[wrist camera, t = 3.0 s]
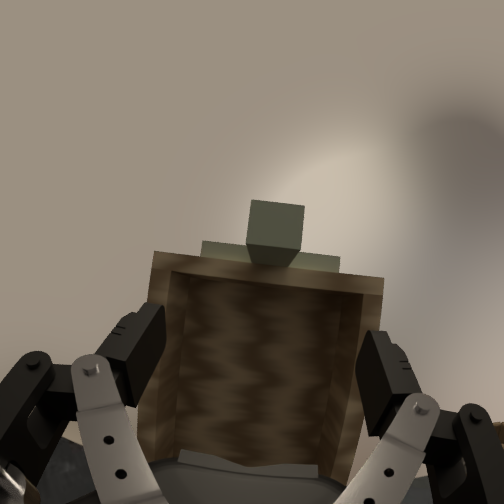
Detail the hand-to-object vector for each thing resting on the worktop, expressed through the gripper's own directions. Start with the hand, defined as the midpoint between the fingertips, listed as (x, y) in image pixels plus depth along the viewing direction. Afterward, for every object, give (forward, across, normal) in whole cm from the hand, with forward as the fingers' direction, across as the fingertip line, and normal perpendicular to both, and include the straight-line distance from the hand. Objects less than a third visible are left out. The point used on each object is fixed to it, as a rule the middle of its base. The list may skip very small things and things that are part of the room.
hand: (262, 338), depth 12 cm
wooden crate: (+2, 0, +33) cm, 33 cm away
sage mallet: (+14, 0, +3) cm, 14 cm away
